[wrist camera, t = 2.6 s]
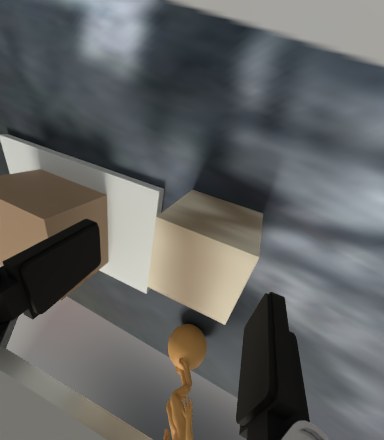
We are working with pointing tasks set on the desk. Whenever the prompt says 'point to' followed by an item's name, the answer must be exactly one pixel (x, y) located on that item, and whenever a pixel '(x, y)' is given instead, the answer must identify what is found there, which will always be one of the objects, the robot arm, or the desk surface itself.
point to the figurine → (184, 377)
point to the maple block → (205, 253)
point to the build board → (121, 205)
